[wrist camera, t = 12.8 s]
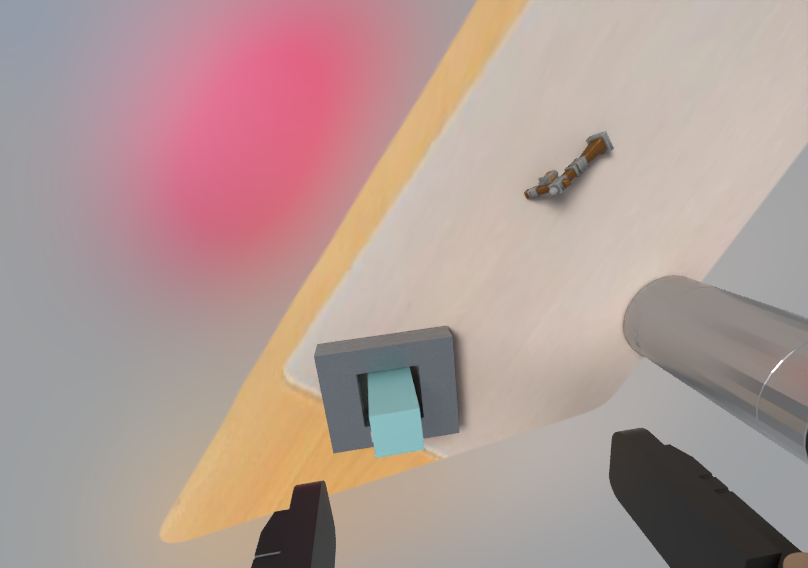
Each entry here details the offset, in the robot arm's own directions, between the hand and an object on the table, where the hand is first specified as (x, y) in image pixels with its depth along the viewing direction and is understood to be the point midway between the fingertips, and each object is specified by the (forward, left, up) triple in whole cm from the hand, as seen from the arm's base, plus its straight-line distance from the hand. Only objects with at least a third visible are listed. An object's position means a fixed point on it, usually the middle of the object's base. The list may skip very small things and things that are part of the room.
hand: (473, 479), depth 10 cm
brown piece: (-16, -6, -26) cm, 32 cm away
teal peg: (+2, +13, -26) cm, 29 cm away
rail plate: (+2, +13, -26) cm, 29 cm away
